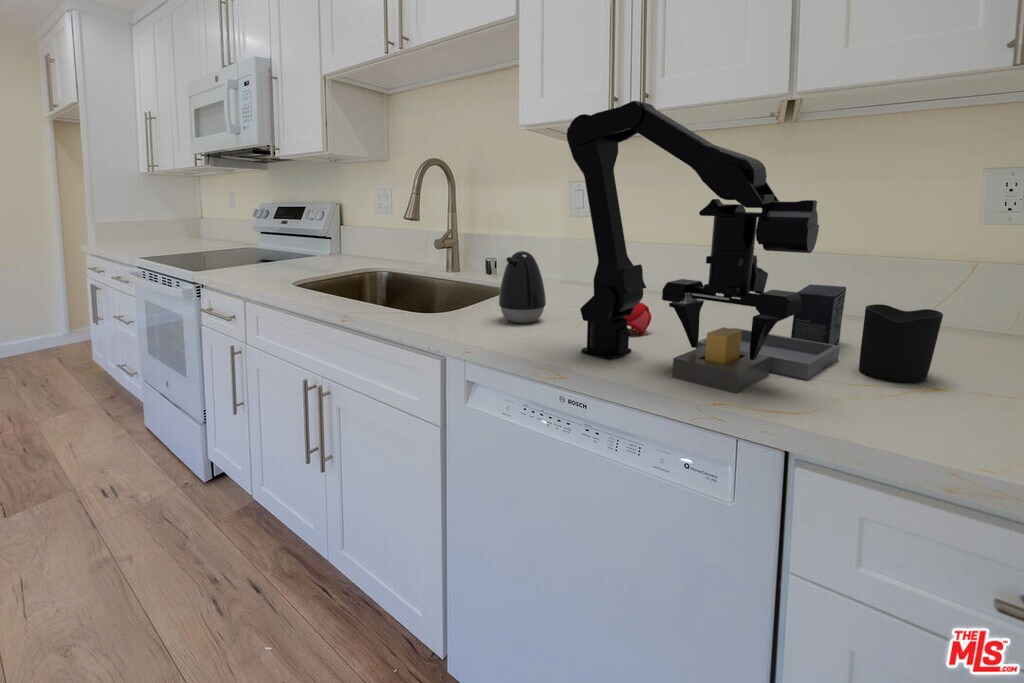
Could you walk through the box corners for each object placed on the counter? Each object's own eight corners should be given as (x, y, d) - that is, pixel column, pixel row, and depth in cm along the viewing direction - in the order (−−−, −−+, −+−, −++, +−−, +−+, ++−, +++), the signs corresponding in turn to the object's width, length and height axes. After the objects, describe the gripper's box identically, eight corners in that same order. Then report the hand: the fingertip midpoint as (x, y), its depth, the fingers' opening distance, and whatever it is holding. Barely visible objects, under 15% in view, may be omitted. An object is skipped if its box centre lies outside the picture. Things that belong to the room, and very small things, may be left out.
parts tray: (694, 355, 94) (696, 341, 94) (732, 340, 103) (733, 327, 103) (807, 380, 82) (809, 364, 81) (837, 360, 91) (840, 345, 90)
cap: (643, 311, 114) (619, 297, 112) (659, 307, 108) (634, 292, 107) (628, 345, 112) (604, 332, 111) (643, 343, 106) (618, 328, 105)
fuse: (703, 377, 83) (707, 333, 81) (718, 370, 87) (722, 327, 85) (722, 382, 81) (726, 336, 79) (737, 374, 85) (741, 330, 83)
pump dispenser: (489, 322, 119) (487, 252, 116) (516, 313, 128) (516, 247, 124) (528, 328, 114) (528, 254, 110) (554, 319, 122) (555, 250, 118)
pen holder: (893, 363, 89) (904, 303, 87) (946, 382, 80) (960, 315, 78) (841, 366, 88) (851, 305, 85) (889, 386, 79) (901, 318, 76)
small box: (801, 337, 106) (808, 282, 103) (839, 342, 102) (848, 286, 99) (786, 349, 98) (794, 290, 95) (828, 355, 94) (837, 295, 91)
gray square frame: (672, 376, 84) (673, 358, 83) (707, 361, 91) (708, 343, 90) (736, 393, 77) (738, 372, 76) (768, 375, 84) (770, 356, 83)
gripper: (822, 248, 78) (807, 354, 82) (699, 241, 91) (692, 332, 95) (792, 255, 70) (777, 371, 74) (663, 246, 83) (657, 345, 87)
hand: (722, 353), depth 83 cm, fingers open, 9 cm apart
